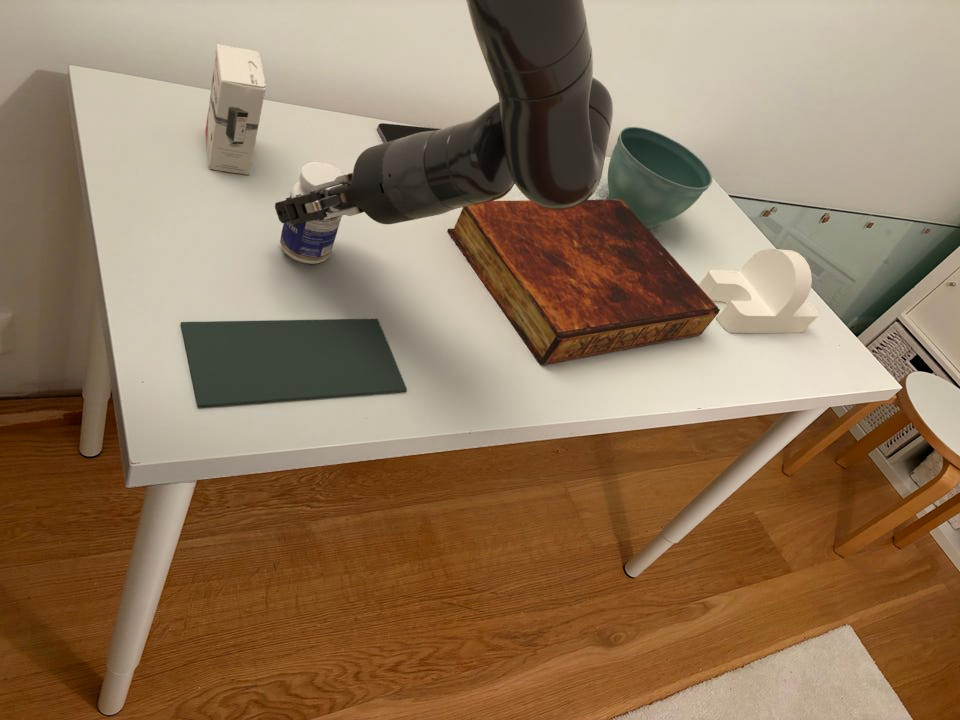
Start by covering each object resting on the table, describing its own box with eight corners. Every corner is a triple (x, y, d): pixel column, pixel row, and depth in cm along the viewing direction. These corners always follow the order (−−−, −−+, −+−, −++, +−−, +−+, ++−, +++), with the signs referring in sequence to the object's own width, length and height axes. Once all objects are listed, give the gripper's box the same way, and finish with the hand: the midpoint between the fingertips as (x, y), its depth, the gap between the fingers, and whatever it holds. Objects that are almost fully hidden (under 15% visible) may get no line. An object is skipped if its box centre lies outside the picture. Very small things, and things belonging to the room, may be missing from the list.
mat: (197, 408, 63) (197, 405, 62) (180, 324, 68) (180, 321, 68) (406, 392, 73) (407, 389, 73) (376, 320, 79) (377, 318, 78)
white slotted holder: (692, 287, 110) (735, 231, 103) (770, 289, 119) (815, 239, 112) (727, 333, 104) (774, 278, 97) (806, 332, 113) (854, 282, 106)
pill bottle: (274, 230, 81) (292, 154, 75) (324, 234, 84) (345, 161, 78) (284, 264, 78) (302, 188, 71) (335, 267, 81) (357, 194, 74)
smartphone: (375, 122, 106) (464, 130, 114) (374, 128, 107) (462, 136, 114) (391, 151, 102) (482, 158, 110) (389, 158, 103) (480, 164, 110)
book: (541, 366, 84) (560, 337, 80) (447, 231, 95) (460, 200, 92) (700, 336, 101) (721, 311, 98) (604, 224, 112) (620, 198, 109)
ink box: (203, 129, 90) (215, 39, 83) (244, 136, 93) (259, 49, 85) (207, 170, 85) (220, 78, 77) (250, 176, 87) (266, 88, 80)
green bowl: (568, 184, 117) (600, 126, 110) (630, 179, 127) (663, 125, 120) (632, 249, 110) (671, 191, 103) (692, 238, 121) (730, 185, 114)
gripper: (449, 125, 72) (338, 158, 82) (347, 152, 61) (235, 186, 72) (469, 199, 74) (359, 222, 85) (374, 237, 64) (262, 258, 74)
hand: (302, 205), depth 78 cm, fingers closed on pill bottle, 5 cm apart
